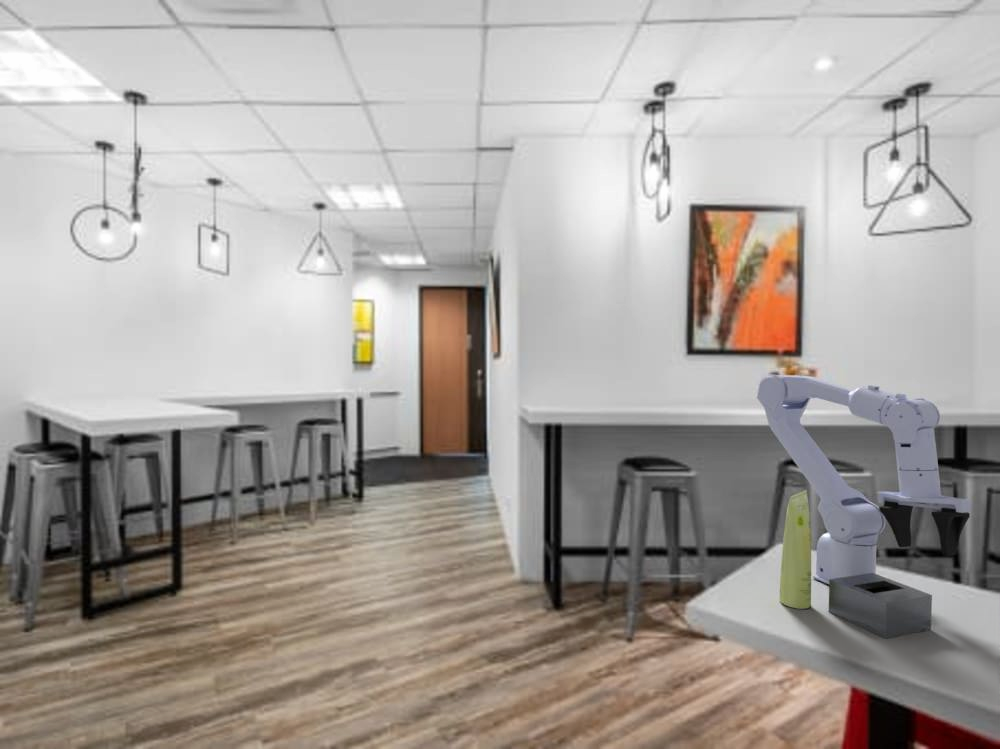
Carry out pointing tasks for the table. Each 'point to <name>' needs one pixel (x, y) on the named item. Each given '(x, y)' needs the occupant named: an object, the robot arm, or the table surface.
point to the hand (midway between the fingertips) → (926, 550)
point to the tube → (796, 554)
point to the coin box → (880, 604)
